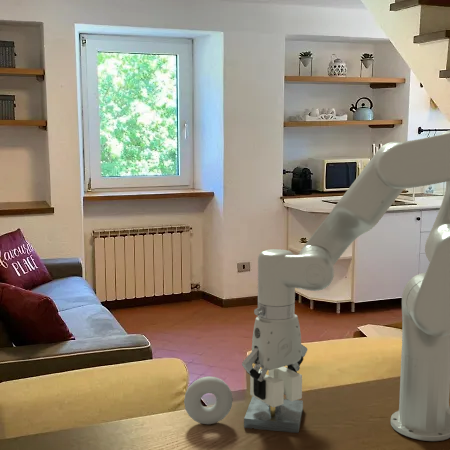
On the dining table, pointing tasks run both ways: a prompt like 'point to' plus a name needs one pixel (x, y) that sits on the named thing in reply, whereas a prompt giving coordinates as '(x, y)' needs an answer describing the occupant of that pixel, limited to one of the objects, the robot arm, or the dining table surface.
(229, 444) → the dining table surface
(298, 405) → the post base
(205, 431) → the dining table surface
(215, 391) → the donut
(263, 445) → the dining table surface
